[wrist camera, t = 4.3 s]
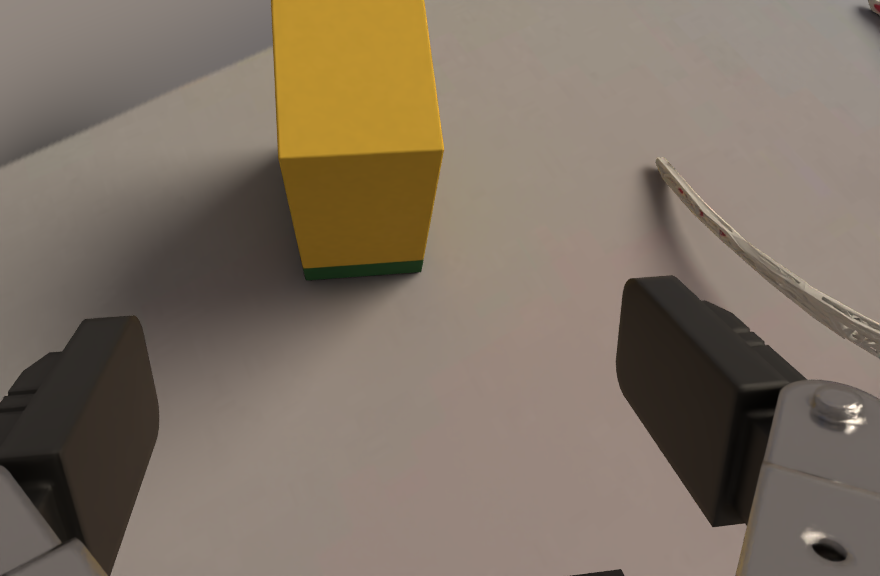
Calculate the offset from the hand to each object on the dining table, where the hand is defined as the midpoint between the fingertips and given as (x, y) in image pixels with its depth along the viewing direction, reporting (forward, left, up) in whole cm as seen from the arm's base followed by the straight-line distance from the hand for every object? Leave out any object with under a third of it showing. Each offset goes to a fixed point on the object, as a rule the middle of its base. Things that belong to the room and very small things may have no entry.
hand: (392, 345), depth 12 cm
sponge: (-5, +8, -14) cm, 17 cm away
